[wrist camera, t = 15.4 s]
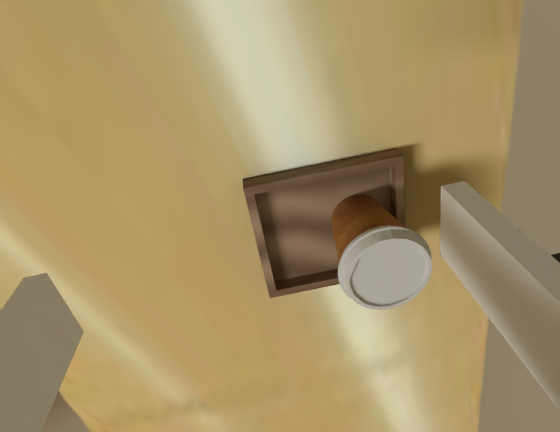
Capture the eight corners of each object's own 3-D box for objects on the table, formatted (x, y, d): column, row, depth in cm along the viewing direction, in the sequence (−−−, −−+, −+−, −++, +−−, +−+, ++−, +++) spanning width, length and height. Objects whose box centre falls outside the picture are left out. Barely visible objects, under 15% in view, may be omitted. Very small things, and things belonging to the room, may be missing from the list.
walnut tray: (242, 179, 46) (243, 188, 44) (395, 148, 47) (403, 155, 44) (268, 285, 54) (270, 298, 52) (399, 259, 54) (406, 270, 52)
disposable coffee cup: (361, 166, 47) (398, 215, 36) (408, 214, 50) (454, 271, 40) (302, 219, 49) (320, 280, 39) (351, 262, 53) (380, 327, 42)
